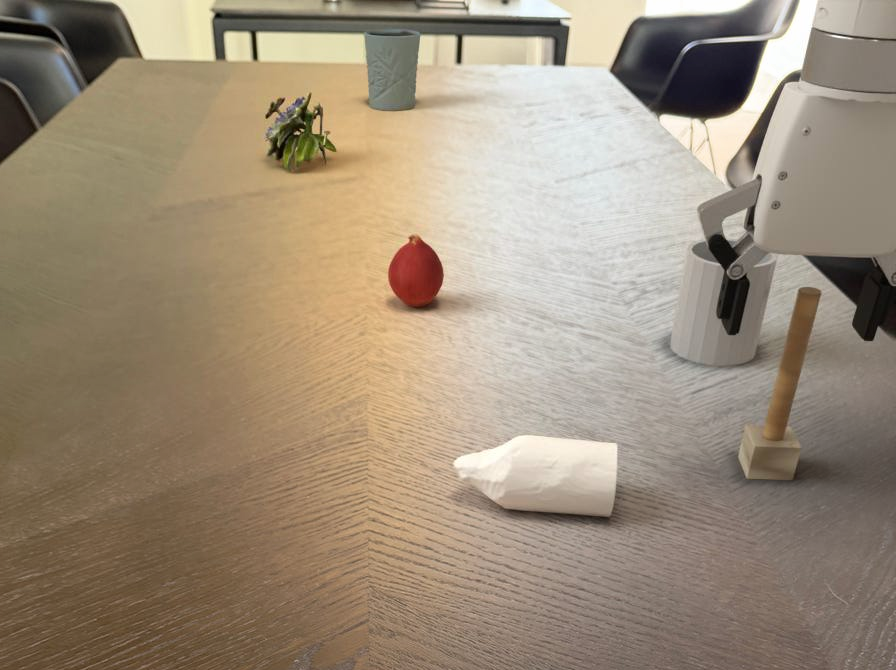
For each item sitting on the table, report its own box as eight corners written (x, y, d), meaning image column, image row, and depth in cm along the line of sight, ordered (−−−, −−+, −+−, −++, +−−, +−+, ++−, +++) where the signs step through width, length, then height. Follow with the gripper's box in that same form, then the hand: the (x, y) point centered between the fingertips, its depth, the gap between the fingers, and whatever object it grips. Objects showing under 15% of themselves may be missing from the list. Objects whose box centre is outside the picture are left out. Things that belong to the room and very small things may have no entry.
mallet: (780, 464, 82) (829, 282, 73) (790, 487, 80) (842, 300, 70) (736, 463, 82) (778, 281, 73) (745, 485, 80) (790, 298, 70)
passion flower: (282, 196, 160) (275, 120, 160) (348, 185, 158) (341, 108, 158) (258, 169, 149) (250, 86, 149) (328, 156, 147) (321, 73, 147)
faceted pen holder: (744, 339, 103) (766, 239, 96) (761, 373, 96) (786, 268, 90) (664, 337, 103) (680, 237, 97) (675, 370, 97) (694, 265, 90)
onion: (407, 296, 112) (407, 221, 107) (452, 306, 109) (454, 230, 104) (379, 312, 108) (377, 236, 103) (425, 323, 105) (426, 245, 100)
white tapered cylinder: (456, 481, 80) (458, 416, 76) (607, 491, 79) (617, 426, 75) (448, 521, 75) (450, 454, 72) (609, 532, 74) (619, 465, 71)
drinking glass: (358, 109, 186) (356, 34, 179) (376, 98, 194) (375, 26, 186) (409, 113, 184) (409, 37, 176) (426, 102, 191) (427, 29, 184)
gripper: (982, 60, 65) (898, 317, 76) (716, 51, 66) (669, 307, 77) (1031, 81, 60) (932, 357, 70) (738, 71, 60) (684, 346, 71)
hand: (795, 331), depth 73 cm, fingers open, 9 cm apart
